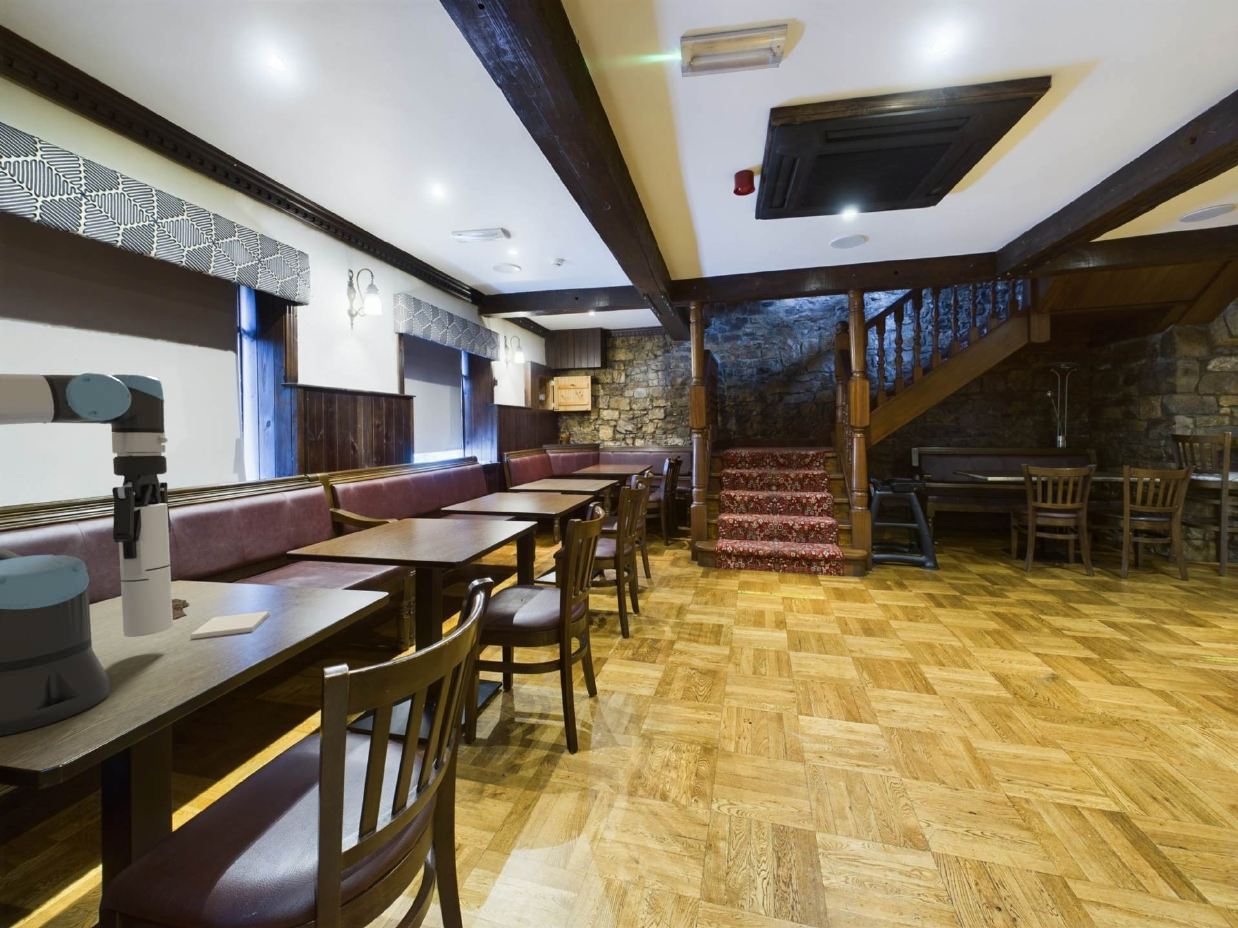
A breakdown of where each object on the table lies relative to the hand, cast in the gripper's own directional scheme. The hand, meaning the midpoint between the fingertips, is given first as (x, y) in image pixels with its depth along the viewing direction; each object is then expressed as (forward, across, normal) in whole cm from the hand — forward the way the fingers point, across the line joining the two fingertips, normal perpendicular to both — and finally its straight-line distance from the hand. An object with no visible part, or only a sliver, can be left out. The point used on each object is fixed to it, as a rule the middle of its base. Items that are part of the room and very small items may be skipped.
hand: (145, 569), depth 98 cm
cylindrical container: (+12, 0, 0) cm, 12 cm away
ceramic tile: (+16, +10, -10) cm, 22 cm away
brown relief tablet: (+17, +30, +12) cm, 37 cm away
